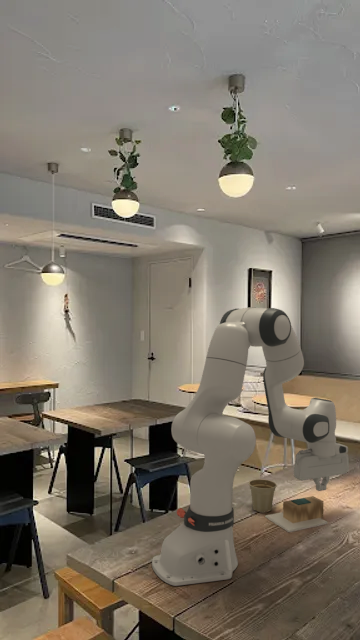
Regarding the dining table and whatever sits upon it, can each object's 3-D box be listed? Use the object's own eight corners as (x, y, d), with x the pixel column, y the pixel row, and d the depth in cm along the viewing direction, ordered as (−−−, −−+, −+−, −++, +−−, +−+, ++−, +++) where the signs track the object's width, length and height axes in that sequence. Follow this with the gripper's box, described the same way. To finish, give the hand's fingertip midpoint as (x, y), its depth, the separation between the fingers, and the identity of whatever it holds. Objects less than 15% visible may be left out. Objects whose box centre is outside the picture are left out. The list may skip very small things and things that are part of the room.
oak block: (323, 516, 155) (293, 523, 150) (313, 511, 160) (283, 517, 155) (323, 500, 155) (293, 506, 150) (313, 495, 160) (283, 500, 155)
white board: (288, 532, 145) (288, 530, 145) (265, 517, 156) (265, 515, 156) (327, 523, 151) (327, 521, 151) (302, 509, 162) (302, 508, 162)
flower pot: (268, 502, 169) (268, 477, 169) (281, 512, 160) (282, 486, 160) (243, 505, 166) (243, 480, 166) (256, 516, 157) (256, 489, 157)
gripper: (302, 453, 151) (301, 497, 151) (352, 447, 159) (351, 489, 159) (289, 448, 156) (289, 491, 156) (338, 442, 165) (337, 483, 165)
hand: (321, 490), depth 158 cm, fingers closed
